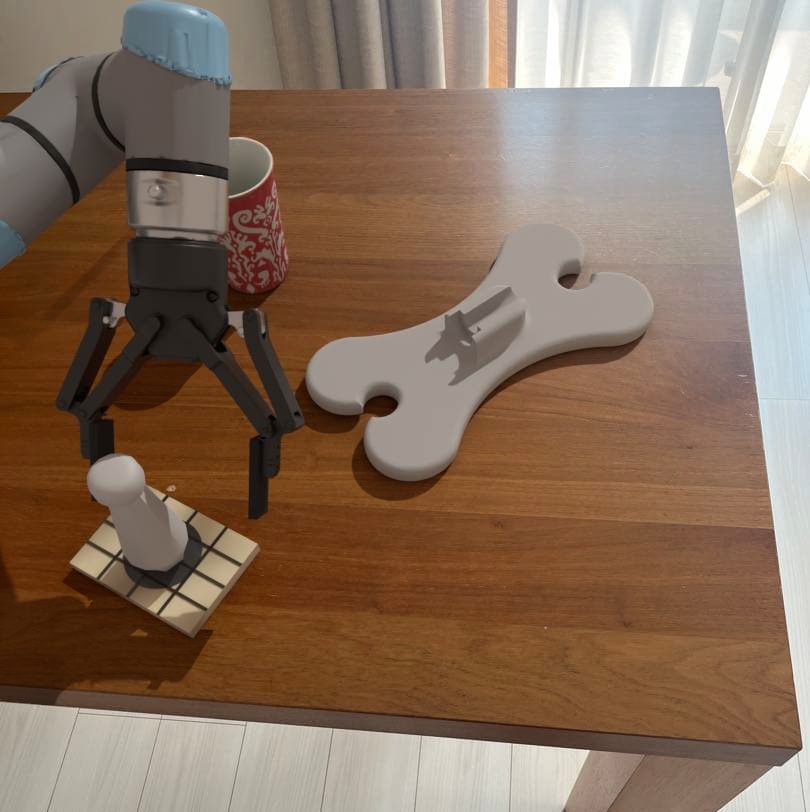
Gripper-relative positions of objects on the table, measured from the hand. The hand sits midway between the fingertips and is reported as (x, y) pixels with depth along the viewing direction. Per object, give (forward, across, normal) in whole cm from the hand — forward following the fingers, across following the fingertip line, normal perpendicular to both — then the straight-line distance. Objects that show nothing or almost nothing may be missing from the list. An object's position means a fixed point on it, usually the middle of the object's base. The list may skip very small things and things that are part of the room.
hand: (179, 507), depth 74 cm
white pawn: (+6, -3, +4) cm, 8 cm away
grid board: (+6, -3, +5) cm, 9 cm away
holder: (-13, +22, +24) cm, 35 cm away
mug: (-20, -4, +32) cm, 38 cm away
